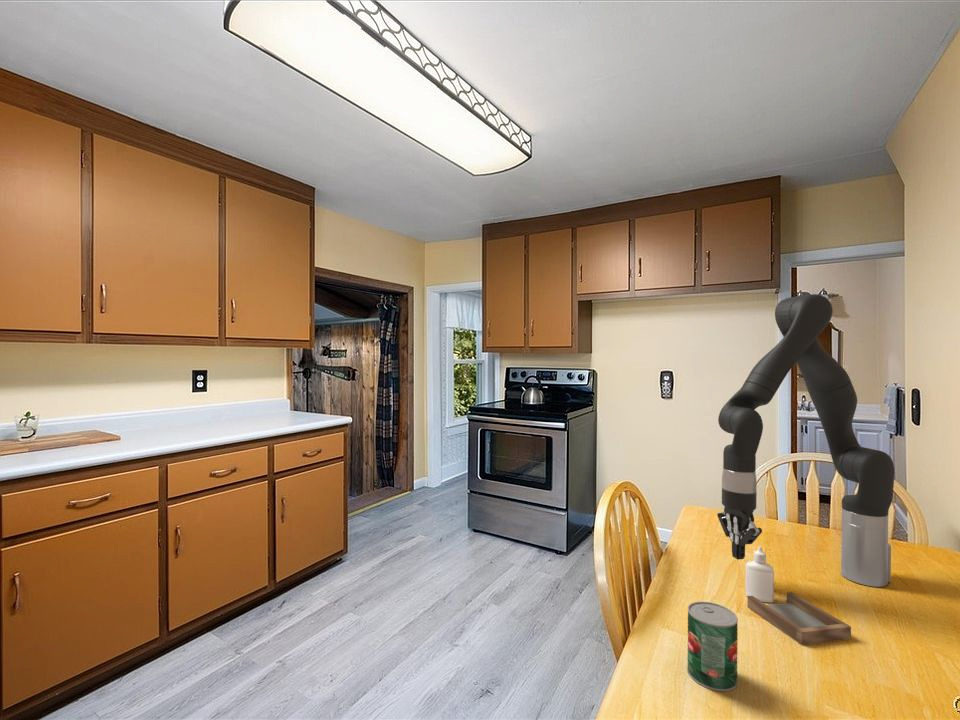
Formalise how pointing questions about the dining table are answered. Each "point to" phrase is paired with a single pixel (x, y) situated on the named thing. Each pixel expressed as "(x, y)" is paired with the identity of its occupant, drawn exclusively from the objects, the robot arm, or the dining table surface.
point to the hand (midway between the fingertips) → (738, 558)
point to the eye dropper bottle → (760, 578)
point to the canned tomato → (712, 646)
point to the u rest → (801, 620)
